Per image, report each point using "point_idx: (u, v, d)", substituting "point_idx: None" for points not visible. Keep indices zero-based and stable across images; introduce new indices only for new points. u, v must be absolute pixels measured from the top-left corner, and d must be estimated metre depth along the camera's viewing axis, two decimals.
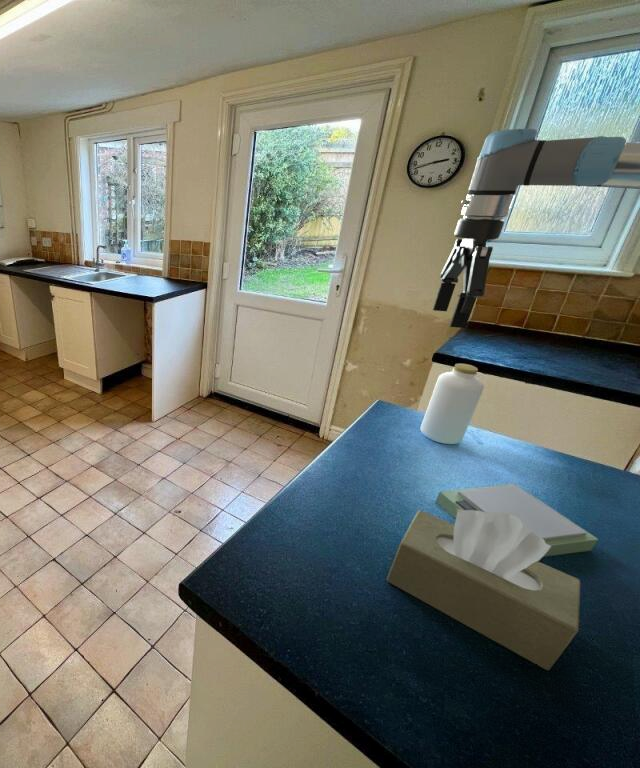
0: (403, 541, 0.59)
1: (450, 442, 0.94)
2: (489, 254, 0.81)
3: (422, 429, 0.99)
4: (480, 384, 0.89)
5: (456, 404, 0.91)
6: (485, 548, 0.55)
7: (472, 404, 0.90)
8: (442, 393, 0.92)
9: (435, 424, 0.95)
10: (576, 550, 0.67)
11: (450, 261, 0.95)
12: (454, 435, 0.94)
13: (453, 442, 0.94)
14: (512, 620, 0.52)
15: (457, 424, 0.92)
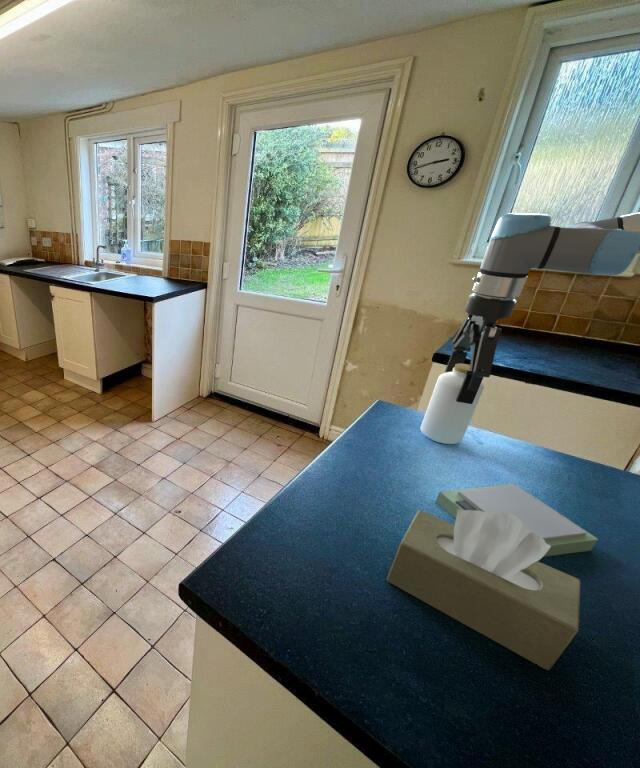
0: (403, 541, 0.59)
1: (450, 442, 0.94)
2: (497, 335, 0.80)
3: (422, 429, 0.99)
4: (480, 384, 0.89)
5: (456, 404, 0.91)
6: (485, 548, 0.55)
7: (472, 404, 0.90)
8: (442, 393, 0.92)
9: (435, 424, 0.95)
10: (576, 550, 0.67)
11: (462, 331, 0.94)
12: (454, 435, 0.94)
13: (453, 442, 0.94)
14: (512, 620, 0.52)
15: (457, 424, 0.92)
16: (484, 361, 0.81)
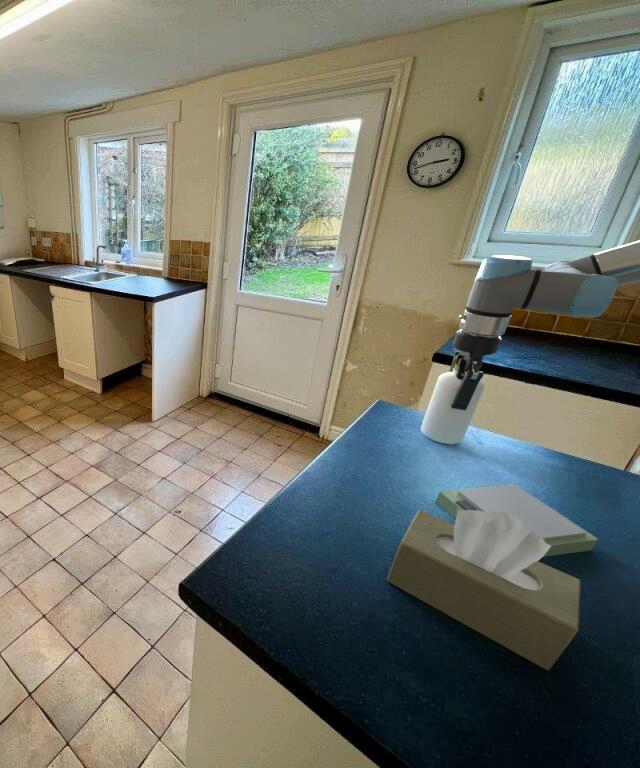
0: (403, 541, 0.59)
1: (450, 442, 0.94)
2: (479, 379, 0.85)
3: (422, 429, 0.98)
4: (480, 384, 0.89)
5: None
6: (485, 548, 0.55)
7: (472, 404, 0.90)
8: (442, 393, 0.92)
9: (435, 424, 0.95)
10: (576, 550, 0.67)
11: None
12: (454, 435, 0.93)
13: (453, 442, 0.94)
14: (512, 620, 0.52)
15: (457, 424, 0.92)
16: (462, 398, 0.89)
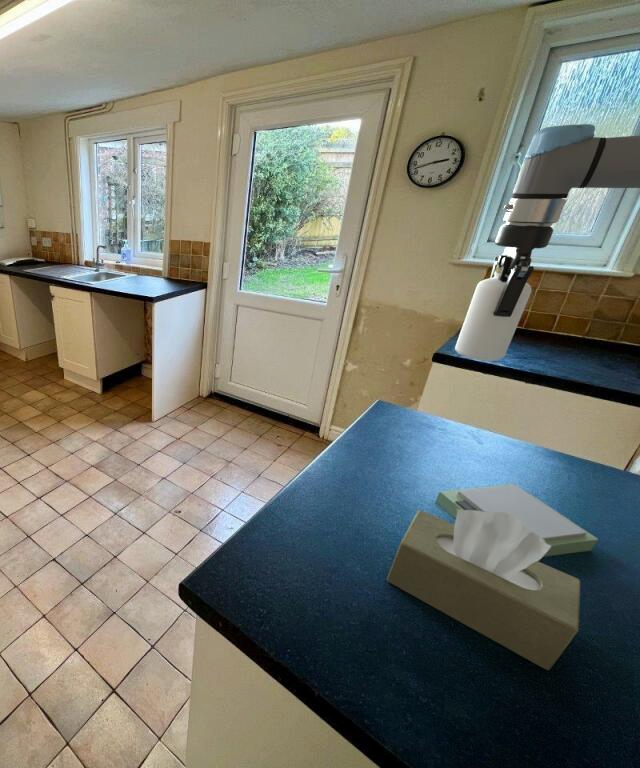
0: (403, 541, 0.59)
1: (491, 358, 0.83)
2: (528, 275, 0.74)
3: (457, 347, 0.87)
4: (527, 286, 0.78)
5: None
6: (485, 548, 0.55)
7: (517, 310, 0.79)
8: (482, 300, 0.81)
9: (473, 338, 0.84)
10: (576, 550, 0.67)
11: None
12: (495, 350, 0.82)
13: (494, 358, 0.83)
14: (512, 620, 0.52)
15: (500, 335, 0.81)
16: (507, 302, 0.78)
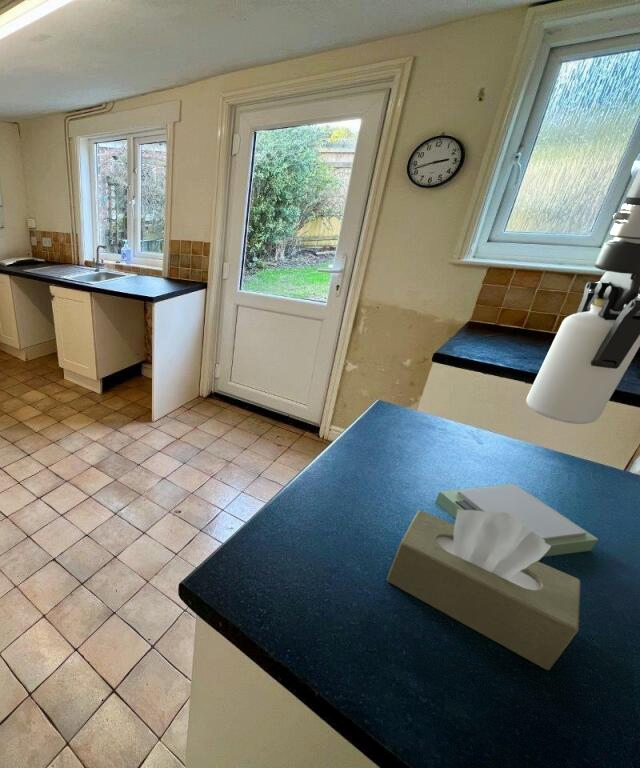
0: (403, 541, 0.59)
1: (582, 421, 0.61)
2: None
3: (531, 402, 0.66)
4: None
5: None
6: (485, 548, 0.55)
7: (626, 359, 0.57)
8: (574, 343, 0.59)
9: (558, 393, 0.62)
10: (576, 550, 0.67)
11: None
12: (590, 410, 0.60)
13: (587, 421, 0.61)
14: (512, 620, 0.52)
15: (598, 392, 0.59)
16: (615, 349, 0.56)
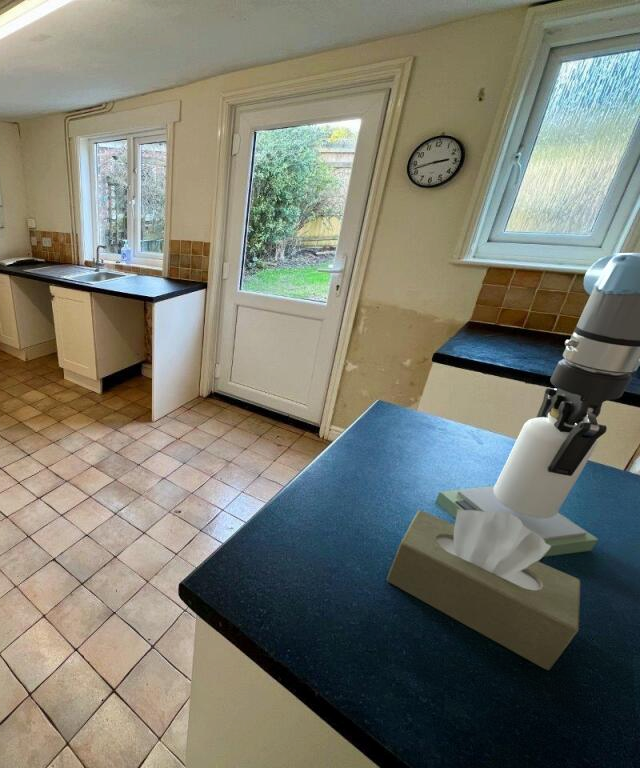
0: (403, 541, 0.59)
1: (542, 516, 0.67)
2: (598, 436, 0.58)
3: (498, 494, 0.71)
4: None
5: None
6: (485, 548, 0.55)
7: (579, 467, 0.63)
8: (533, 449, 0.65)
9: (520, 491, 0.68)
10: (576, 550, 0.67)
11: None
12: (548, 508, 0.66)
13: (546, 516, 0.67)
14: (512, 620, 0.52)
15: (555, 493, 0.65)
16: (568, 460, 0.61)
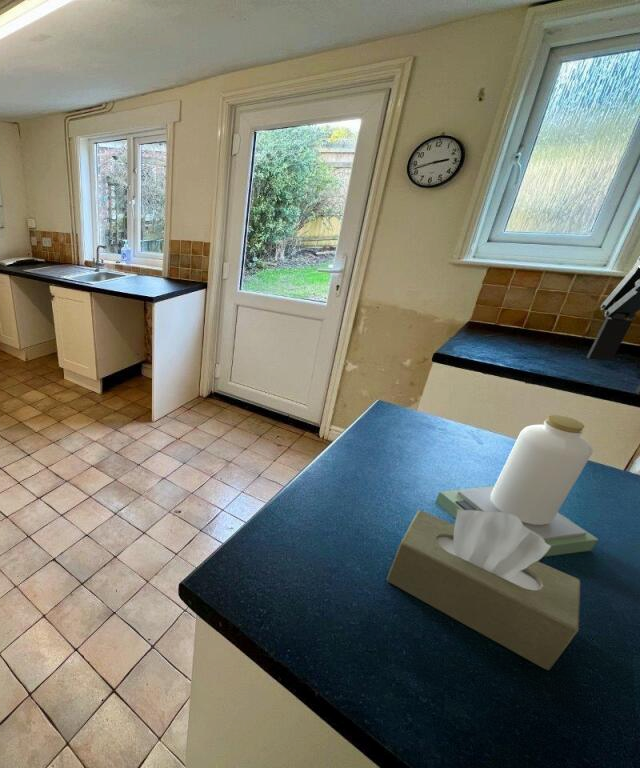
0: (403, 541, 0.59)
1: (538, 523, 0.68)
2: None
3: (494, 500, 0.72)
4: (588, 447, 0.62)
5: (551, 474, 0.64)
6: (485, 548, 0.55)
7: (574, 475, 0.63)
8: (529, 457, 0.66)
9: (516, 497, 0.68)
10: (576, 550, 0.67)
11: (625, 287, 0.62)
12: (544, 515, 0.67)
13: (542, 523, 0.68)
14: (512, 620, 0.52)
15: (550, 500, 0.66)
16: None
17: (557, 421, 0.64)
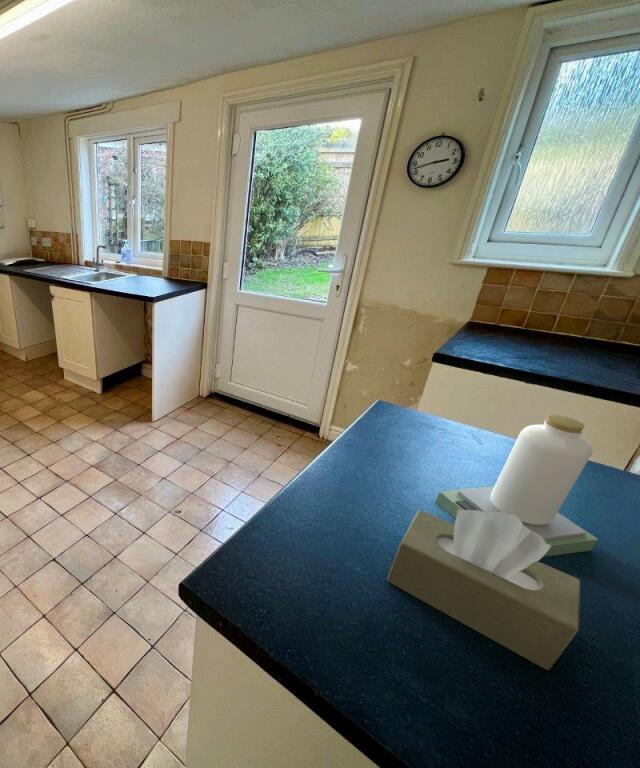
0: (403, 541, 0.59)
1: (538, 523, 0.68)
2: None
3: (494, 500, 0.72)
4: (588, 447, 0.62)
5: (551, 474, 0.64)
6: (485, 548, 0.55)
7: (574, 475, 0.63)
8: (529, 457, 0.66)
9: (516, 497, 0.68)
10: (576, 550, 0.67)
11: None
12: (544, 515, 0.67)
13: (542, 523, 0.68)
14: (512, 620, 0.52)
15: (550, 500, 0.66)
16: None
17: (557, 421, 0.64)
